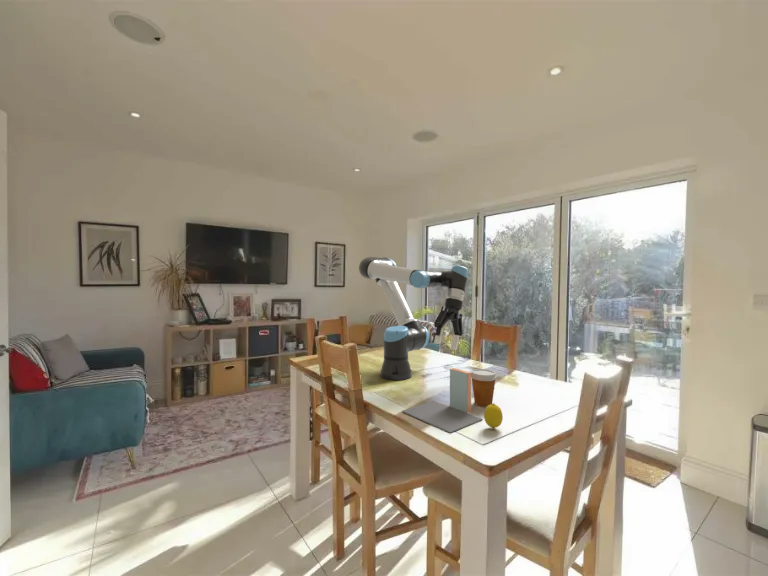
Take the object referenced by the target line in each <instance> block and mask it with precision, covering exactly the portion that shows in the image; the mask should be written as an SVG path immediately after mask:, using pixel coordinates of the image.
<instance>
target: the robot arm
mask: <svg viewBox="0 0 768 576" xmlns="http://www.w3.org/2000/svg"><path fill="white" fill-rule="evenodd" d="M358 272H359V274H360V275H361V276H362V277H363V278H365V279H367V280H368V279H369V280H375V282H376V285H377V286H380V287H381V288H382V291H383V293H384V296H385V297H386V300H387V301H388V305H389V306H390V309H391V311H392V312H393V315H394V318H395V319H396V322H397V324H398V325H396V326H389V327H387V328H385V329H384V333H383V362H382V365H381V369H380V371H379V374H380V375H379V376H380V377H381V378H382V379H386V380H388V381H403V380H409V379H410V378H412V376H413V373H412V372H413V371H412V369H411V365H410V361H409V352H413V351H417V350H421V349H423V348H425V347H427V345H428V344H429V341H430V332H429V330H428V329H427V327H425V326H424V325H421V324H420V322H419V320H418V319H416V318H414V316H413V314H412V311H411V309H410V307H409V305H408V302H407V301H406V299H405V296H404V294H403V292H402V290H401V288H400V286H399V283H400V284H404V285H409V286H412V287H414V288H416V289H417V288H418V289H423V288H424V289H425V288H427V289H428V288H447V292H446V299H445V302H444V305H443V306H441V309H440V312H439V314H438V315H437V317H436V319H435V321H434V322H433V323H434V324H433V325H434V328H436V329H435V330H436V331H435V336H434V341H433V343H434V344H438V345H441V342H442V337H443V332H444V329H443V327H444V326H445V325H446V324H447V322H448V321H450V322H451V325H452V327H453V328H452V329H453V332H454V334H453V335H452V339H451V345H450V349H451V350H455V351H457V349H458V346H459V345H458V344H459V339H460V337H462V336H463V333H464V332H463V314H462V313H459V311H461V310H462V308H463V304H464V303H463V301H464V298H465V291H466V286H467V281H468V275H469V269H468V268H467V267H466V266H462V265H454V266H452V268H451V270H448V271H443V270H440V271H438V270H435V271H434V270H432V271H431V270H422V269H421V270H420V269H415V268H409V267H403V266H398V265H397V263H396V262H395V261H394V260H393V259H392V258H389V257H376V256H375V257H374V256H368V257H365V258H363V259H362V260H360V263H359V265H358Z"/></svg>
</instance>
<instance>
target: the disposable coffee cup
mask: <svg viewBox="0 0 768 576" xmlns="http://www.w3.org/2000/svg"><path fill="white" fill-rule="evenodd" d="M497 378H498V377H497V373H496V371H493V370H491V369H483V368H481V369H480V368H477V369H476V368H475V369H473V370H471V386H472V391H473V399H474V400H473V401H474V404H475V405H476V406H478V407H483V408H484V407H485V408H486V407H487V406H488V405H490V404H492V403H493V399H494V393H495V385H496V379H497Z"/></svg>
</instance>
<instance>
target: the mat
mask: <svg viewBox="0 0 768 576" xmlns="http://www.w3.org/2000/svg"><path fill="white" fill-rule="evenodd" d="M402 413H404V414H406V415H409V416H411V417H413V418H415V419H418V420H420V421H422V422H424V423H426V424H429V425H431V426H433V427H435V428H437V429H440V430H442V431H444V432H447V433H449V434H452V433H455V432H457V431H460V430H462V429H465V428H467V427H469V426H471V425H474V424H477V423H479V422H481V421H483V418H482V417H479V416H476V415H473V414H470V413H465V412H463V411H460V410H457V409H455V408H452V407H450V405H446V404H443V403H440V402H438V401H435V400H432V401H430V402H425V403H422V404H420V405H416V406H414V407H410V408H407V409H404V410H402Z"/></svg>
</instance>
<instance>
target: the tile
mask: <svg viewBox="0 0 768 576" xmlns="http://www.w3.org/2000/svg"><path fill="white" fill-rule="evenodd" d="M471 373H472V371H467V370H463V369H461V368H460V369H459V368H456V367H451V368H449V407H452V408H454V409H457V410H460V411H462V412H465V413H468V414H470V413H471V412H472V378H471Z"/></svg>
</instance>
